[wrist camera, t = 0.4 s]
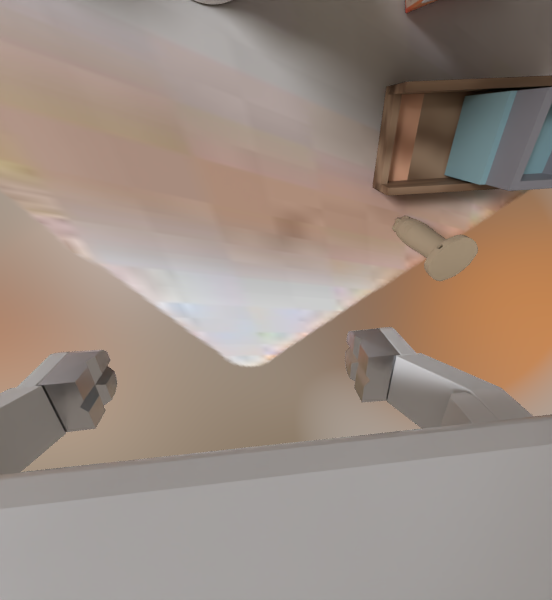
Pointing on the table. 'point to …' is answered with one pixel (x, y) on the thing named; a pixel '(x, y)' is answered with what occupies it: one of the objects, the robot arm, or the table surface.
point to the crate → (504, 140)
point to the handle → (436, 248)
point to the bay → (430, 132)
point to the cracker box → (416, 4)
